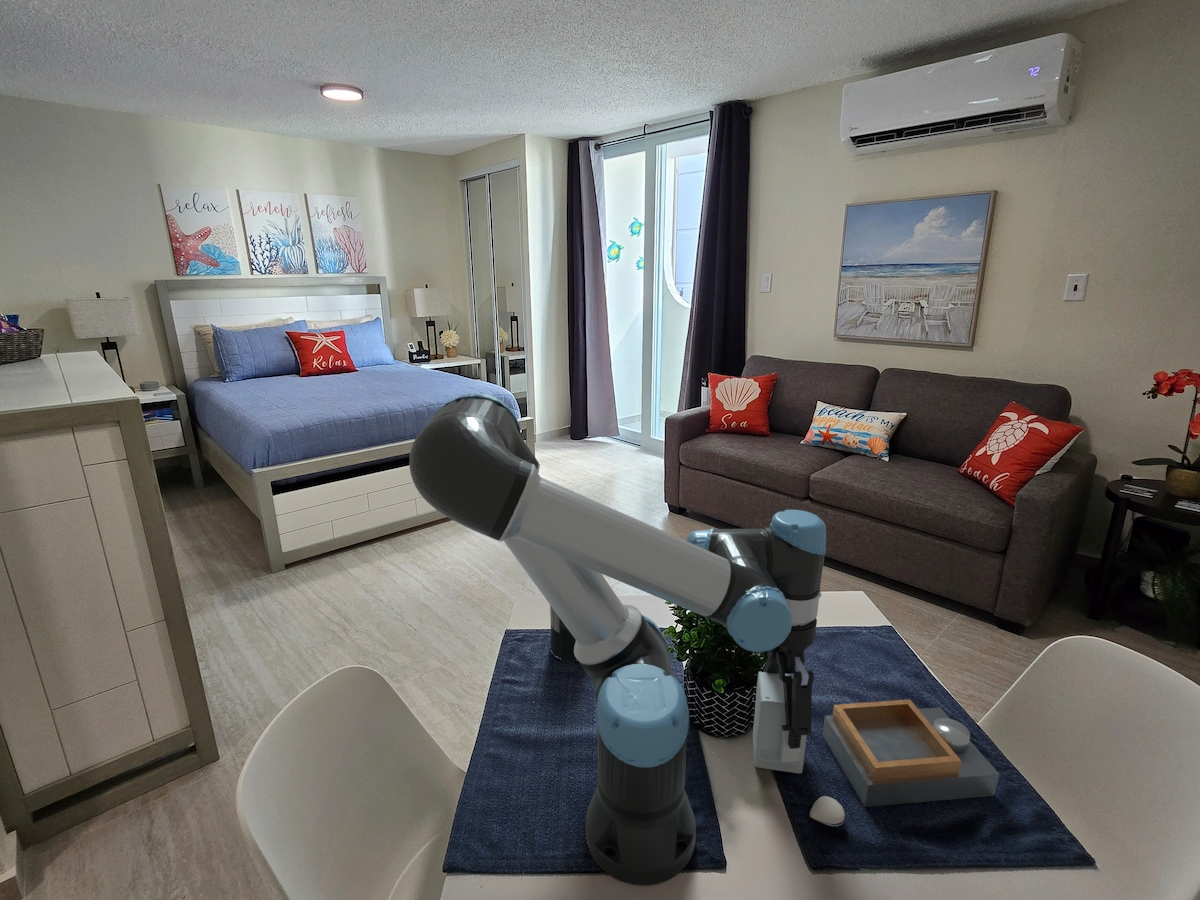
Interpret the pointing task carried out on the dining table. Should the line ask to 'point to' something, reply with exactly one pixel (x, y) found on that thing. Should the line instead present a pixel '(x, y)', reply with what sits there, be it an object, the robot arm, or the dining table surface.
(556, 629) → the milk frother
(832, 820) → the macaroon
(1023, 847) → the dining table surface
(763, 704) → the supplement box
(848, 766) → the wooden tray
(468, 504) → the robot arm
